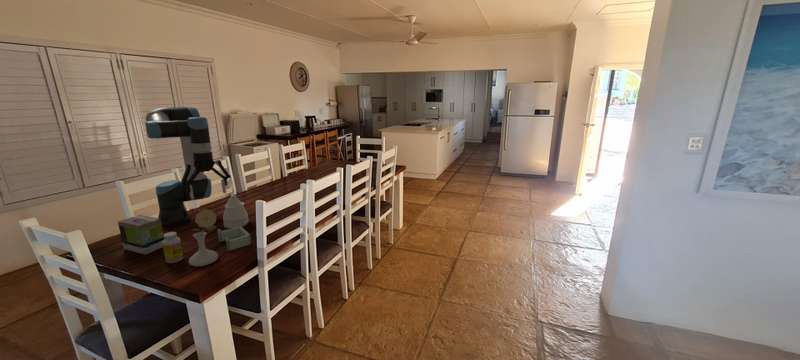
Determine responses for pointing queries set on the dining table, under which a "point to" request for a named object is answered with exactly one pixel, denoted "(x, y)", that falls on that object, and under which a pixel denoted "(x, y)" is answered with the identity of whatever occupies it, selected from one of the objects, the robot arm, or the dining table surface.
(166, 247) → the supplement bottle
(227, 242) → the open rectangular box
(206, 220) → the flower in vase
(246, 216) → the honey pot
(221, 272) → the dining table surface
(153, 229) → the tea box
